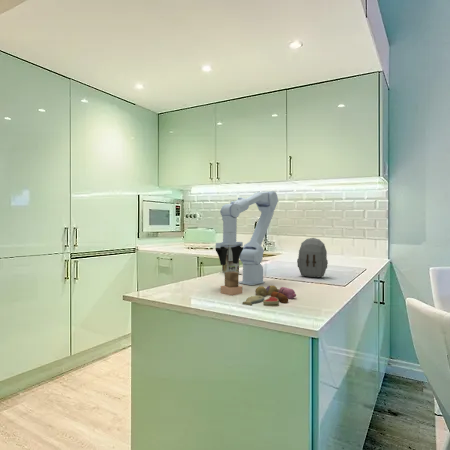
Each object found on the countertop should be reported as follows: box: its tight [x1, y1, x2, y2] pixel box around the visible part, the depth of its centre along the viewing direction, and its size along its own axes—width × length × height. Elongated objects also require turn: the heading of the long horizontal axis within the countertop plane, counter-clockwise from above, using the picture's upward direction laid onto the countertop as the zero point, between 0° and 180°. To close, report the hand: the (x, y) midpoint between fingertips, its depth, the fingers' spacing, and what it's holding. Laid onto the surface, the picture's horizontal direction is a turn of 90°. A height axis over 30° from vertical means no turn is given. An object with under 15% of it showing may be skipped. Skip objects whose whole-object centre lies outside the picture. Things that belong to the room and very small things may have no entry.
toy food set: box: [241, 285, 297, 307], centre depth 130 cm, size 26×16×4 cm, turn 160°
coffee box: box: [221, 245, 240, 274], centre depth 187 cm, size 9×6×16 cm
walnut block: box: [224, 271, 240, 288], centre depth 139 cm, size 4×4×6 cm
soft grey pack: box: [296, 237, 329, 278], centre depth 178 cm, size 15×8×20 cm, turn 65°
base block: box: [220, 284, 243, 296], centre depth 139 cm, size 6×6×3 cm
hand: (229, 264), depth 149 cm, fingers open, 7 cm apart
